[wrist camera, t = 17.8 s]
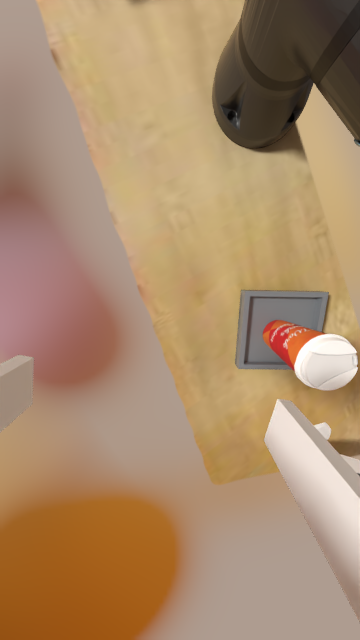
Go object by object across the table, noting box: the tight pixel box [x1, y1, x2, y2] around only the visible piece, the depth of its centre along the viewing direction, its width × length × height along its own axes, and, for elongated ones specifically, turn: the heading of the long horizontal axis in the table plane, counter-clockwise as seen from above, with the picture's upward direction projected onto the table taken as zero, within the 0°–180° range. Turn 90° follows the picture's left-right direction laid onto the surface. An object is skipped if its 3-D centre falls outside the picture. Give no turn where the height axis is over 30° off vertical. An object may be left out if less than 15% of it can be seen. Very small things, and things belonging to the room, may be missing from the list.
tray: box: [235, 290, 329, 369], centre depth 41 cm, size 16×16×2 cm
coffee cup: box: [263, 320, 358, 390], centre depth 34 cm, size 8×8×15 cm
